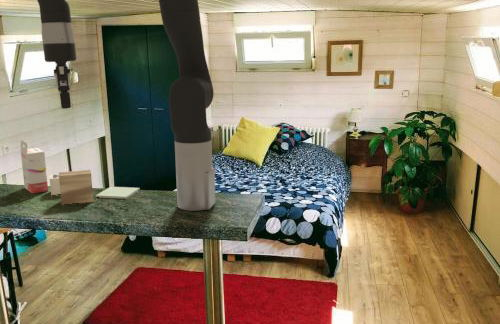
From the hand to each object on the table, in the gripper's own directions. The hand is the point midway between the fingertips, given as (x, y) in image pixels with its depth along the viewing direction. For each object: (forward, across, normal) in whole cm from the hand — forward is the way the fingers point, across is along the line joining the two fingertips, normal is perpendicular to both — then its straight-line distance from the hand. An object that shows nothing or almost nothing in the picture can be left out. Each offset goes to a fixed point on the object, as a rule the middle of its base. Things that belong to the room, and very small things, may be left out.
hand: (66, 106), depth 126 cm
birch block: (+26, 0, 0) cm, 26 cm away
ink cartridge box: (+25, +17, +11) cm, 33 cm away
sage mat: (+26, +4, -11) cm, 28 cm away
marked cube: (+25, +11, +4) cm, 28 cm away
